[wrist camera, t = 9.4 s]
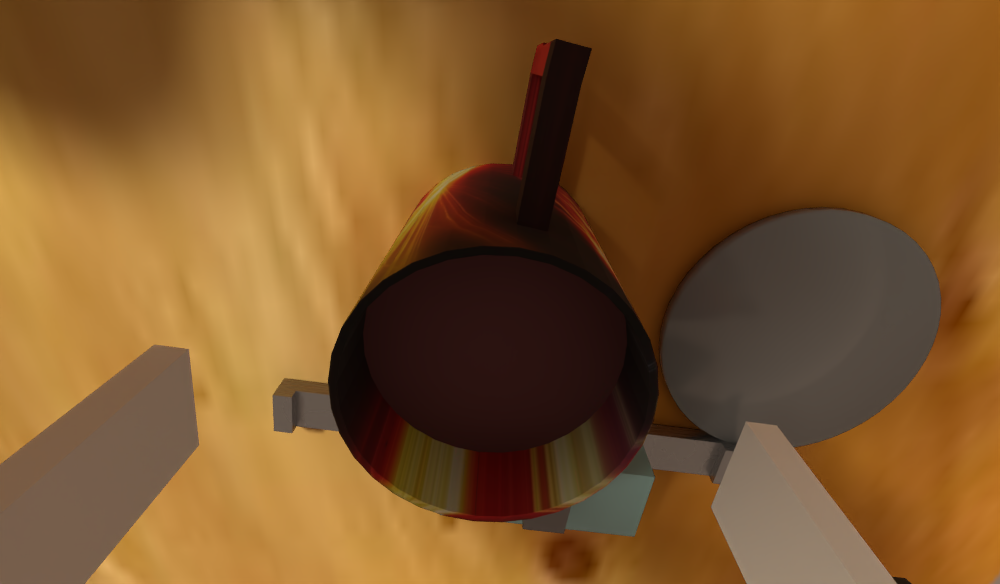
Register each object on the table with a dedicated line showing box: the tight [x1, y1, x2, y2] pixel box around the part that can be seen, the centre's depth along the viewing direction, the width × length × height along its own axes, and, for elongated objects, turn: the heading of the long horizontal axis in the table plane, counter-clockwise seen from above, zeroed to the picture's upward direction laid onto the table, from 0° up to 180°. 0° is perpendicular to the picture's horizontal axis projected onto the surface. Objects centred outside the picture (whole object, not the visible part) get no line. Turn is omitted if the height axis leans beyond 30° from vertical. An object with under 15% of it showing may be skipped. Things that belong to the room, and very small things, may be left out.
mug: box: [328, 39, 659, 522], centre depth 20 cm, size 10×14×12 cm
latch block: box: [440, 446, 655, 537], centre depth 27 cm, size 4×10×5 cm, turn 82°
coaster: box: [659, 207, 941, 447], centre depth 27 cm, size 14×14×1 cm
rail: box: [273, 378, 737, 484], centre depth 29 cm, size 2×26×2 cm, turn 82°
